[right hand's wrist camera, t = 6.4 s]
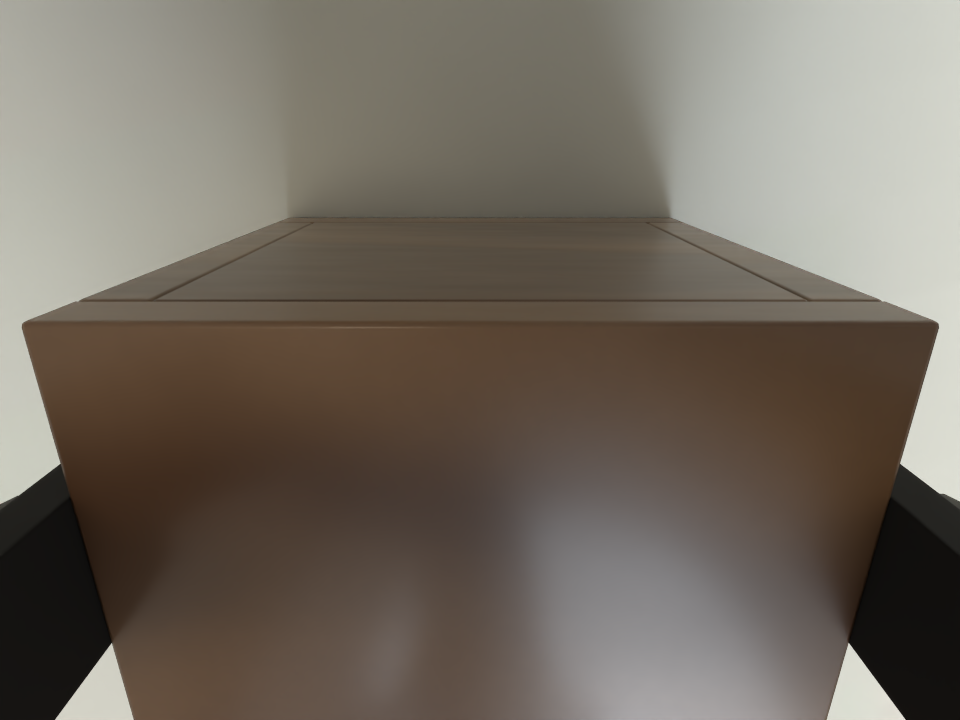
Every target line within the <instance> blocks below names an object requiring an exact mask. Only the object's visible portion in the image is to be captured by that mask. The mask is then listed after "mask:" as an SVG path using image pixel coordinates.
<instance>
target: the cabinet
mask: <svg viewBox="0 0 960 720" xmlns="http://www.w3.org/2000/svg"><path fill="white" fill-rule="evenodd" d="M938 329H939V325H938V323H937V322H935V321H933V320H931V319H928V318H926V317H923V316H920V315H918V314H915V313H913V312H910V311H908V310H905V309H903V308H900V307H897V306H895V305H892V304H890V303H887V302H882V301H881V300H879V299H877V298H874V297H872V296H869V295H866V294H864V293H861V292H859V291H856V290H854V289H851V288H849V287H846V286H844V285H841V284H838V283H836V282H833V281H831V280H828V279H826V278H823V277H821V276H818V275H815V274H813V273H810V272H808V271H805V270H803V269H800V268H798V267H795V266H792V265H790V264H787V263H785V262H782V261H780V260H777V259H775V258H772V257H770V256H767V255H764V254H762V253H759V252H757V251H754V250H752V249H749V248H747V247H744V246H741V245H739V244H736V243H734V242H731V241H729V240H726V239H724V238H721V237H718V236H716V235H713V234H711V233H708V232H706V231H703V230H701V229H698V228H695V227H693V226H690V225H688V224H685V223H683V222H680V221H678V220H675V219H673V218H287V219H285V220H282V221H280V222H277V223H275V224H272V225H269V226H267V227H264V228H262V229H259V230H257V231H254V232H252V233H249V234H247V235H244V236H242V237H239V238H236V239H234V240H231V241H229V242H226V243H224V244H221V245H219V246H216V247H214V248H211V249H208V250H206V251H203V252H201V253H198V254H196V255H193V256H191V257H188V258H186V259H183V260H181V261H178V262H175V263H173V264H170V265H168V266H165V267H163V268H160V269H158V270H155V271H153V272H150V273H147V274H145V275H142V276H140V277H137V278H135V279H132V280H130V281H127V282H125V283H122V284H120V285H117V286H114V287H112V288H109V289H107V290H104V291H102V292H99V293H97V294H94V295H92V296H89V297H86V298H84V299H82V300H80V301H79V302H73V303H71V304H68V305H66V306H63V307H61V308H58V309H56V310H53V311H51V312H48V313H46V314H43V315H40V316H38V317H35V318H33V319H30V320H28V321H26V322H24V323H23V324H22V330H23V334H24V337H25V341H26V344H27V348H28V351H29V355H30V358H31V362H32V365H33V369H34V372H35V376H36V379H37V383H38V386H39V390H40V393H41V397H42V400H43V404H44V407H45V411H46V414H47V418H48V421H49V425H50V428H51V432H52V435H53V439H54V442H55V446H56V449H57V453H58V456H59V459H60V463H61V466H62V470H63V473H64V477H65V480H66V484H67V487H68V491H69V494H70V498H71V501H72V505H73V508H74V512H75V515H76V519H77V522H78V526H79V529H80V533H81V536H82V540H83V543H84V547H85V550H86V554H87V557H88V561H89V564H90V568H91V571H92V575H93V578H94V582H95V585H96V589H97V592H98V596H99V599H100V603H101V606H102V610H103V613H104V617H105V620H106V624H107V627H108V631H109V634H110V638H111V641H112V645H113V648H114V652H115V655H116V659H117V662H118V666H119V669H120V673H121V676H122V680H123V683H124V687H125V690H126V694H127V697H128V701H129V704H130V708H131V711H132V715H133V718H134V720H826V719H827V716H828V712H829V709H830V706H831V702H832V699H833V695H834V692H835V688H836V685H837V681H838V678H839V674H840V671H841V667H842V664H843V660H844V657H845V653H846V650H847V646H848V643H849V639H850V636H851V632H852V629H853V625H854V622H855V618H856V615H857V611H858V608H859V604H860V601H861V597H862V594H863V590H864V587H865V584H866V580H867V577H868V573H869V570H870V566H871V563H872V559H873V556H874V552H875V549H876V545H877V542H878V538H879V535H880V531H881V528H882V524H883V521H884V517H885V514H886V510H887V507H888V503H889V500H890V496H891V493H892V489H893V486H894V482H895V479H896V475H897V472H898V468H899V465H900V461H901V458H902V455H903V451H904V448H905V444H906V441H907V437H908V434H909V430H910V427H911V423H912V420H913V416H914V413H915V409H916V406H917V402H918V399H919V395H920V392H921V388H922V385H923V381H924V378H925V374H926V371H927V367H928V364H929V360H930V357H931V353H932V350H933V346H934V343H935V339H936V336H937V333H938Z"/></svg>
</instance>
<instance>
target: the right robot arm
mask: <svg viewBox="0 0 960 720" xmlns="http://www.w3.org/2000/svg"><path fill="white" fill-rule="evenodd" d="M111 643H112V641H111V638H110V634H109V631H108V627H107V624H106V620H105V617H104V613H103V610H102V606H101V603H100V599H99V596H98V592H97V589H96V585H95V582H94V578H93V575H92V571H91V568H90V564H89V561H88V557H87V554H86V550H85V547H84V543H83V540H82V536H81V533H80V529H79V526H78V522H77V519H76V515H75V512H74V508H73V505H72V501H71V498H70V494H69V491H68V487H67V484H66V480H65V477H64V473H63V470H62V466H61V464H60V465H59V466H57V467H56V468H55V469H53V470H52V471H51V472H49V473H48V474H47V475H45V476H44V477H43V478H41V479H40V480H39V481H38V482H36V483H35V484H34V485H32V486H31V487H30V488H28V489H27V490H26V491H24V492H23V493H22V494H20V495H19V496H16V497H14V498H12V499H10V500H8V501H6V502H4V503H2V504H0V720H55V719H56V717H57V716H58V715H59V713H60V712H61V711H62V709H63V708H64V707H65V705H66V704H67V703H68V701H69V700H70V699H71V697H72V696H73V694H74V693H75V692H76V690H77V689H78V688H79V686H80V685H81V684H82V682H83V681H84V680H85V678H86V677H87V676H88V674H89V673H90V671H91V670H92V669H93V667H94V666H95V665H96V663H97V662H98V661H99V659H100V658H101V657H102V655H103V654H104V653H105V651H106V650H107V648H108V647H109V646H110V644H111ZM849 644H850V645H851V646H852V648H853V649H854V650H855V652H856V653H857V654H858V656H859V657H860V658H861V660H862V661H863V662H864V664H865V665H866V667H867V668H868V669H869V671H870V672H871V673H872V675H873V676H874V677H875V679H876V680H877V681H878V683H879V684H880V685H881V687H882V688H883V690H884V691H885V692H886V694H887V695H888V696H889V698H890V699H891V700H892V702H893V703H894V704H895V706H896V707H897V708H898V710H899V711H900V713H901V714H902V715H903V717H904V718H905V719H906V720H960V502H959V501H957V500H955V499H953V498H951V497H949V496H947V495H945V494H939V493H938V492H936V491H935V490H934V489H932V488H931V487H930V486H928V485H927V484H926V483H924V482H923V481H922V480H921V479H919V478H918V477H917V476H915V475H914V474H913V473H911V472H910V471H909V470H907V469H906V468H905V467H903V466H902V465H901V464H900V465H899V468H898V472H897V475H896V479H895V482H894V486H893V489H892V493H891V496H890V500H889V503H888V507H887V510H886V514H885V517H884V521H883V524H882V528H881V531H880V535H879V538H878V542H877V545H876V549H875V552H874V556H873V559H872V563H871V566H870V570H869V573H868V577H867V580H866V584H865V587H864V590H863V594H862V597H861V601H860V604H859V608H858V611H857V615H856V618H855V622H854V625H853V629H852V632H851V636H850V639H849Z"/></svg>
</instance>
